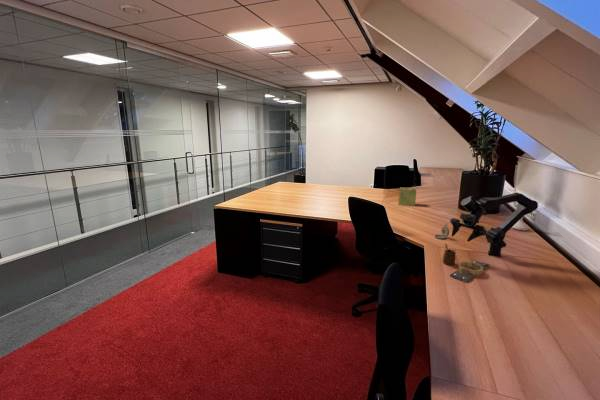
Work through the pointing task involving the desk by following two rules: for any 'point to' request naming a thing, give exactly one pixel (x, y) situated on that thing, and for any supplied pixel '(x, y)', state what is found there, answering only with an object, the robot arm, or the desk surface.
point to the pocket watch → (444, 230)
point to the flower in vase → (520, 225)
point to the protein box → (407, 196)
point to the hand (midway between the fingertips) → (459, 238)
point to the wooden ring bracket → (468, 274)
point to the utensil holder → (449, 256)
